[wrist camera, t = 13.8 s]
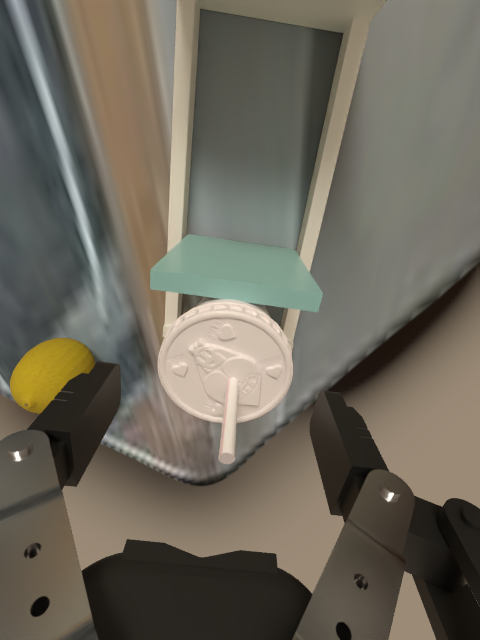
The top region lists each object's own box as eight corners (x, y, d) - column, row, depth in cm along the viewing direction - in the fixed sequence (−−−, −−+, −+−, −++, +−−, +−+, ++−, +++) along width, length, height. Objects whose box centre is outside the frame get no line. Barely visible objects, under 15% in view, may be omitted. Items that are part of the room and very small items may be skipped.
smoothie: (231, 349, 25) (212, 531, 12) (173, 293, 23) (80, 440, 10) (294, 301, 23) (350, 457, 10) (237, 235, 21) (218, 327, 8)
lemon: (104, 379, 31) (61, 441, 24) (49, 363, 30) (-14, 422, 23) (113, 333, 29) (67, 386, 21) (52, 315, 28) (-15, 364, 21)
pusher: (187, 246, 24) (150, 289, 15) (188, 233, 24) (150, 269, 15) (292, 262, 24) (318, 312, 15) (295, 249, 24) (323, 293, 15)
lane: (169, 326, 28) (126, 408, 18) (185, -17, 18) (110, -244, 8) (287, 342, 29) (307, 430, 19) (363, 14, 19) (493, -168, 9)
